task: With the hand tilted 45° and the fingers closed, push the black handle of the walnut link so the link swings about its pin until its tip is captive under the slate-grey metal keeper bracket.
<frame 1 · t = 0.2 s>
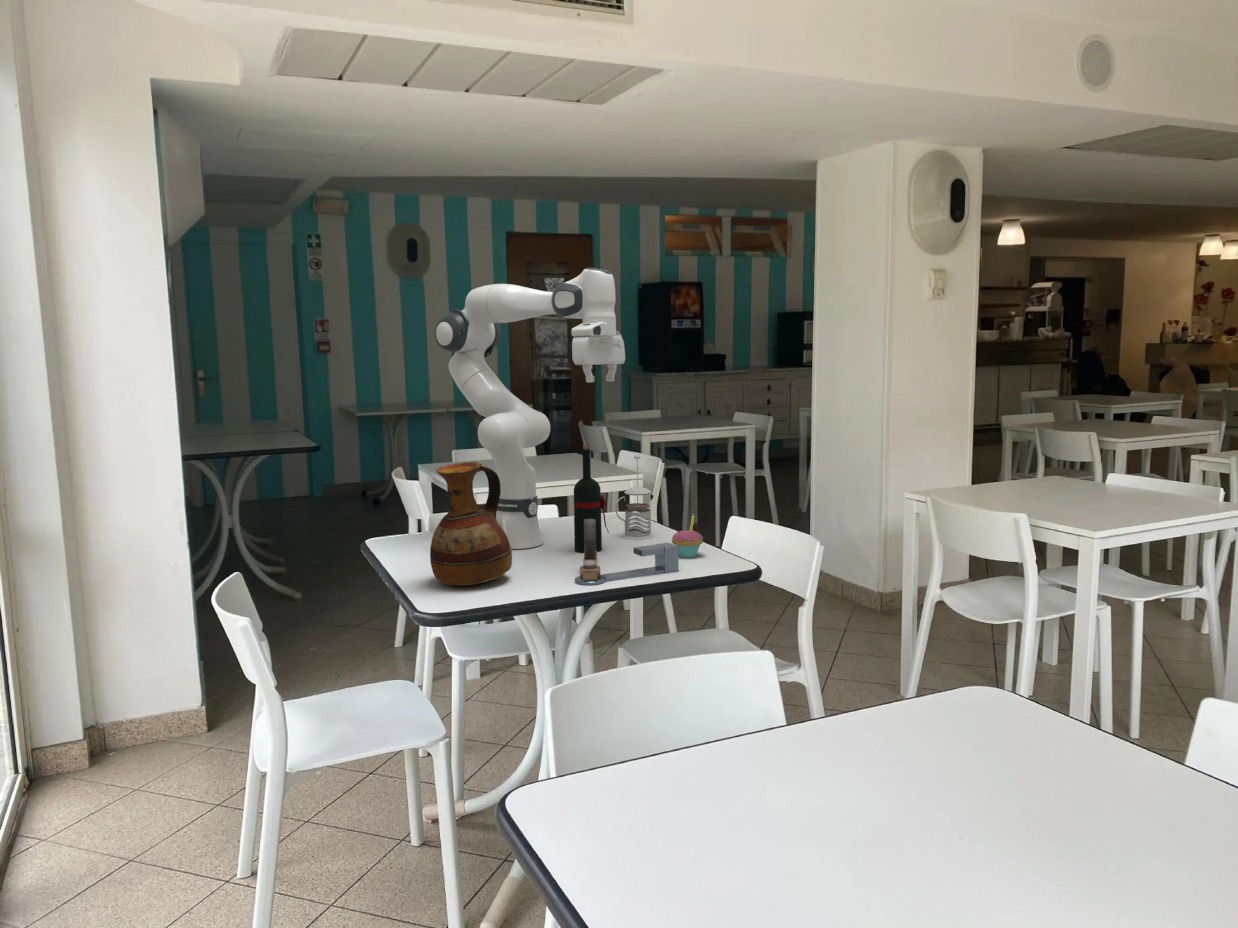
hand: (600, 382, 249), 48 cm above the table, tool pointing down, fingers open, 8 cm apart
keeper bracket: (590, 581, 229), on the table
cupcake: (687, 556, 255), on the table
french press: (635, 537, 281), on the table
wine bottle: (592, 550, 264), on the table
walnut link: (590, 545, 236), point 7 cm above the table, hinge at 0.0°
ceramic pitcher: (472, 581, 232), on the table
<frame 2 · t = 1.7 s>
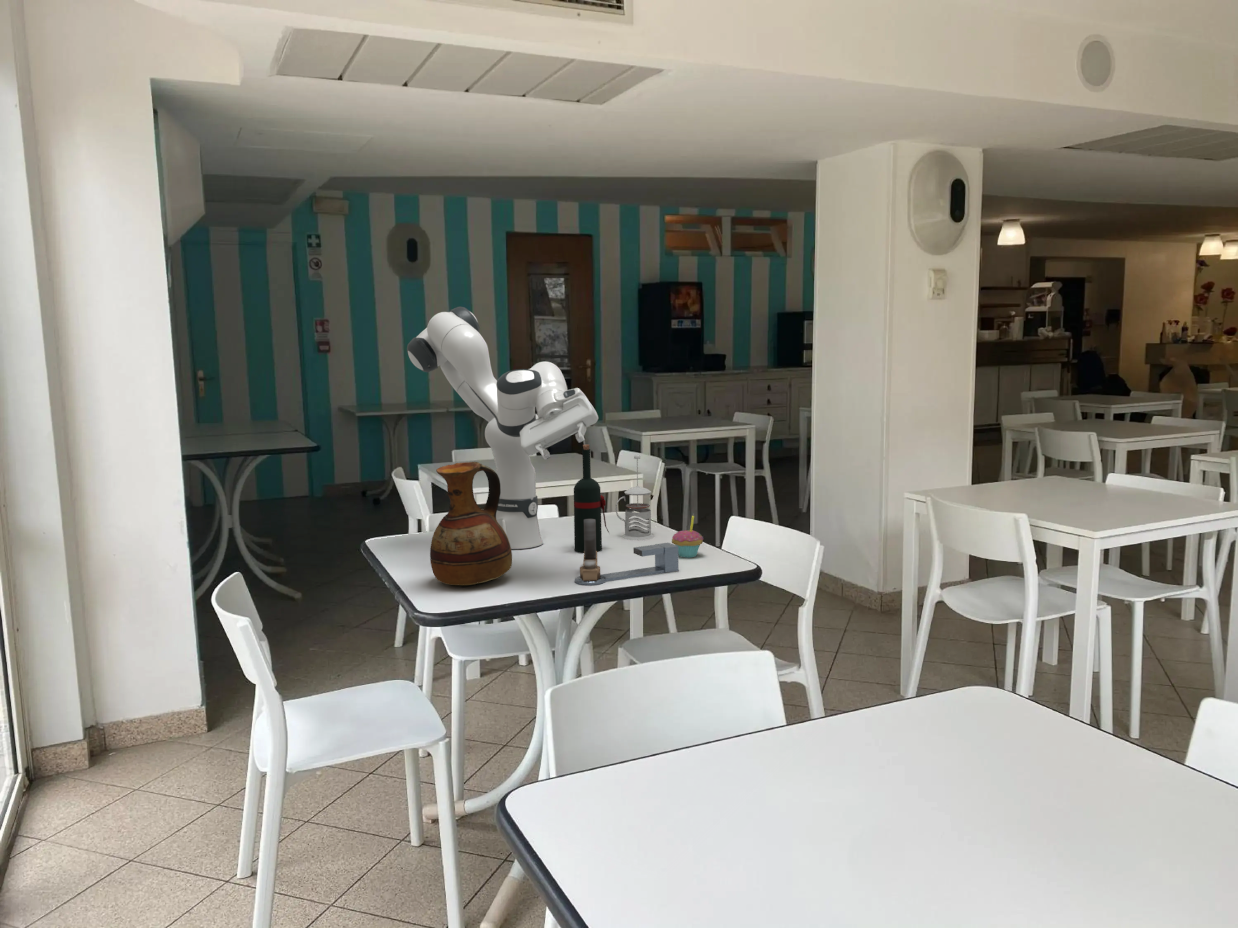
hand: (563, 448, 223), 33 cm above the table, tool tilted 55°, fingers open, 8 cm apart
nothing on the table moved.
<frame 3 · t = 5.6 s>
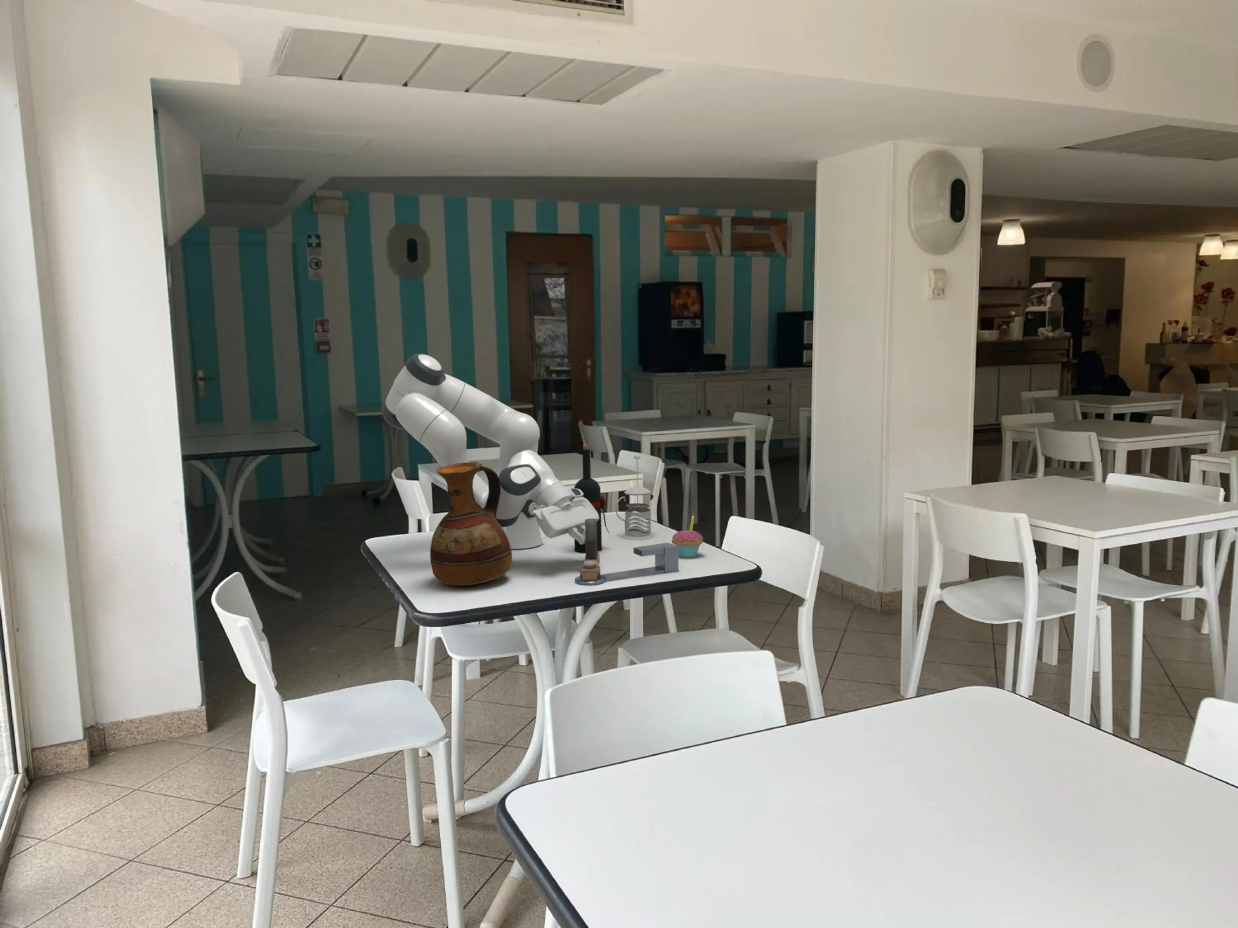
hand: (586, 542, 240), 7 cm above the table, tool tilted 45°, fingers closed, pressing on walnut link
walnut link: (590, 545, 236), point 7 cm above the table, hinge at -1.9°, touching gripper
everything else where it was.
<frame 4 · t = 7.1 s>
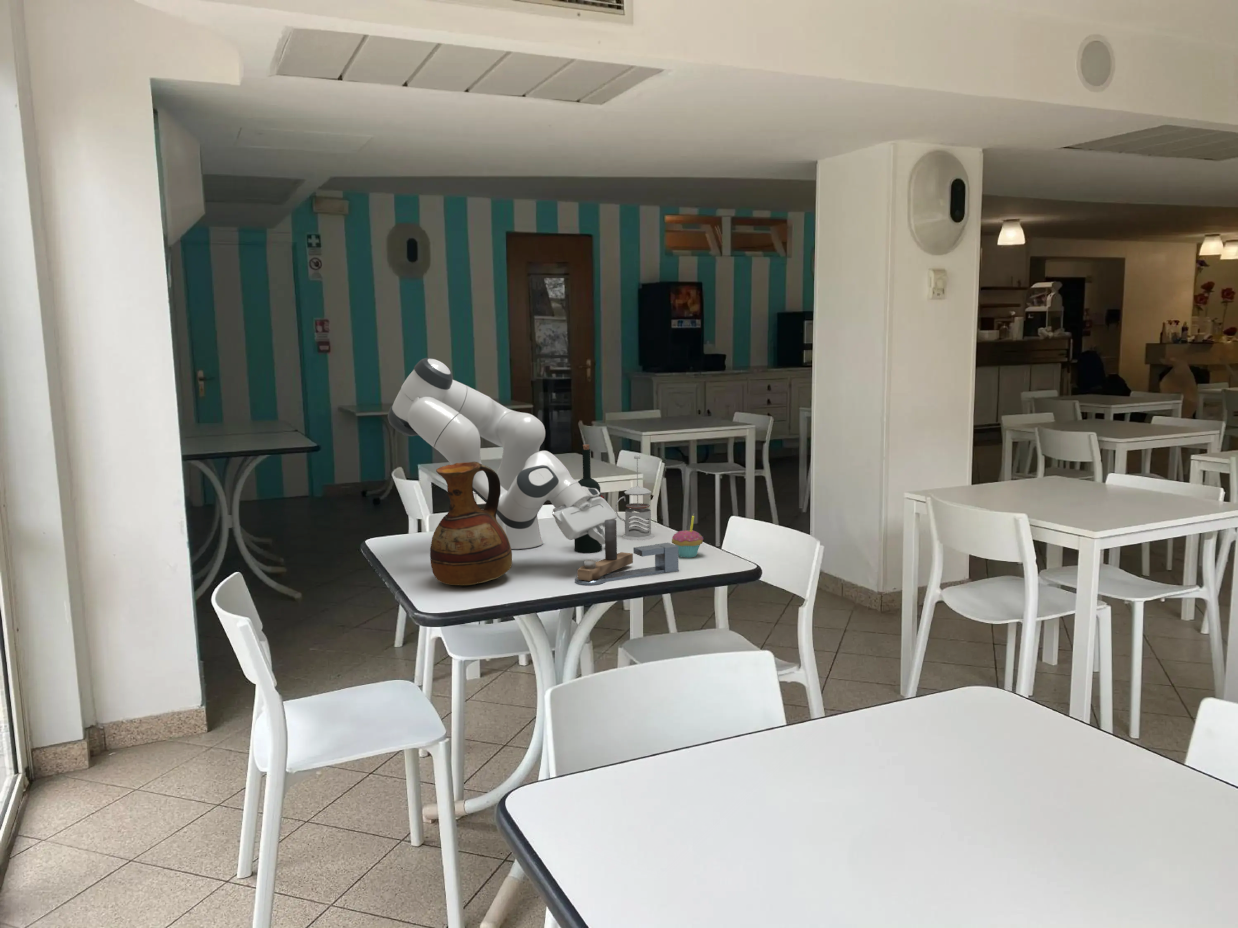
hand: (605, 542, 239), 7 cm above the table, tool tilted 45°, fingers closed, pressing on walnut link
walnut link: (605, 546, 235), point 7 cm above the table, hinge at -32.1°, touching gripper
everything else where it was.
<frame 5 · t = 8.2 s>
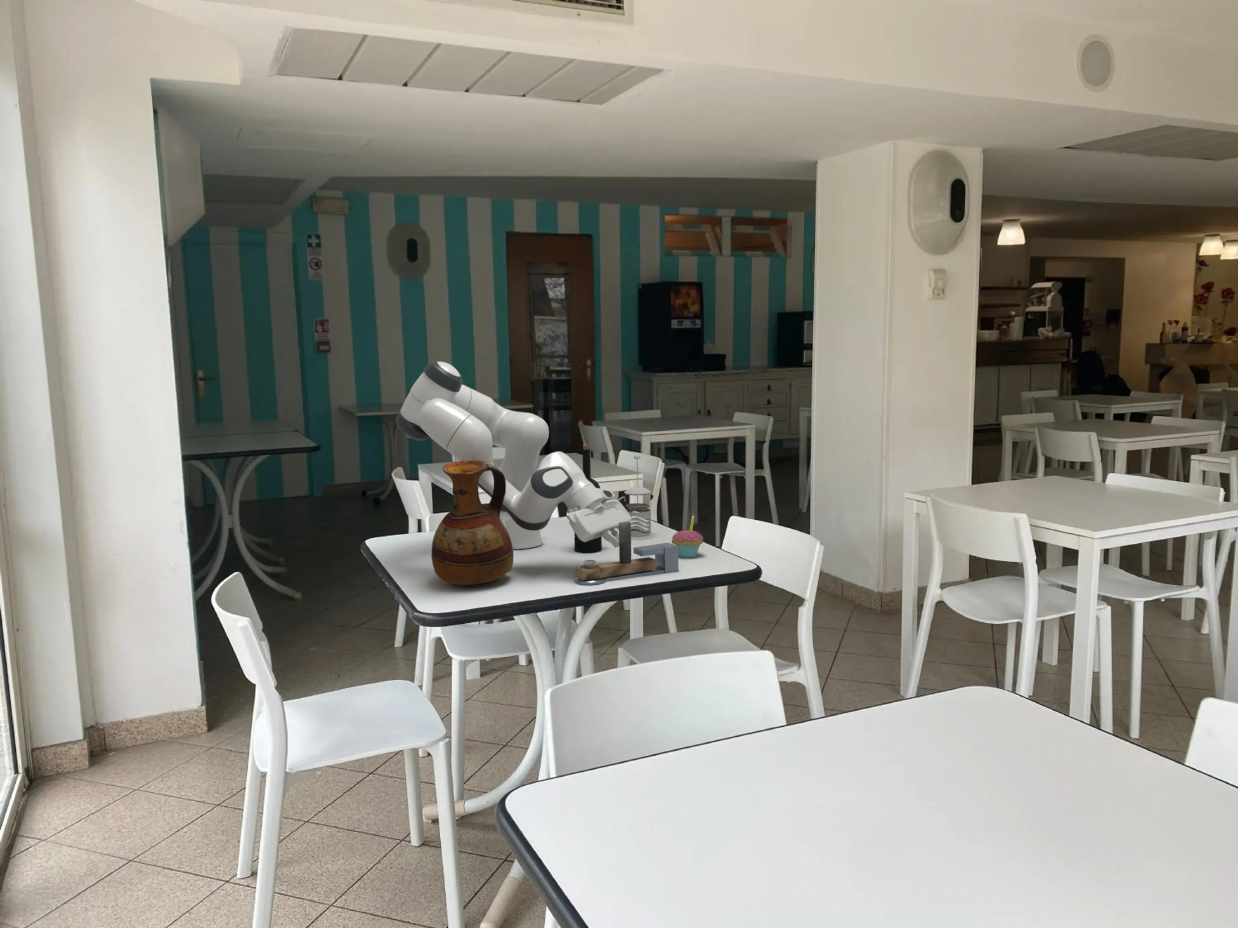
hand: (620, 545, 235), 7 cm above the table, tool tilted 45°, fingers closed
walnut link: (616, 548, 232), point 7 cm above the table, hinge at -62.1°, touching gripper
ceramic pitcher: (472, 578, 232), point 1 cm above the table, touching arm
everything else where it was.
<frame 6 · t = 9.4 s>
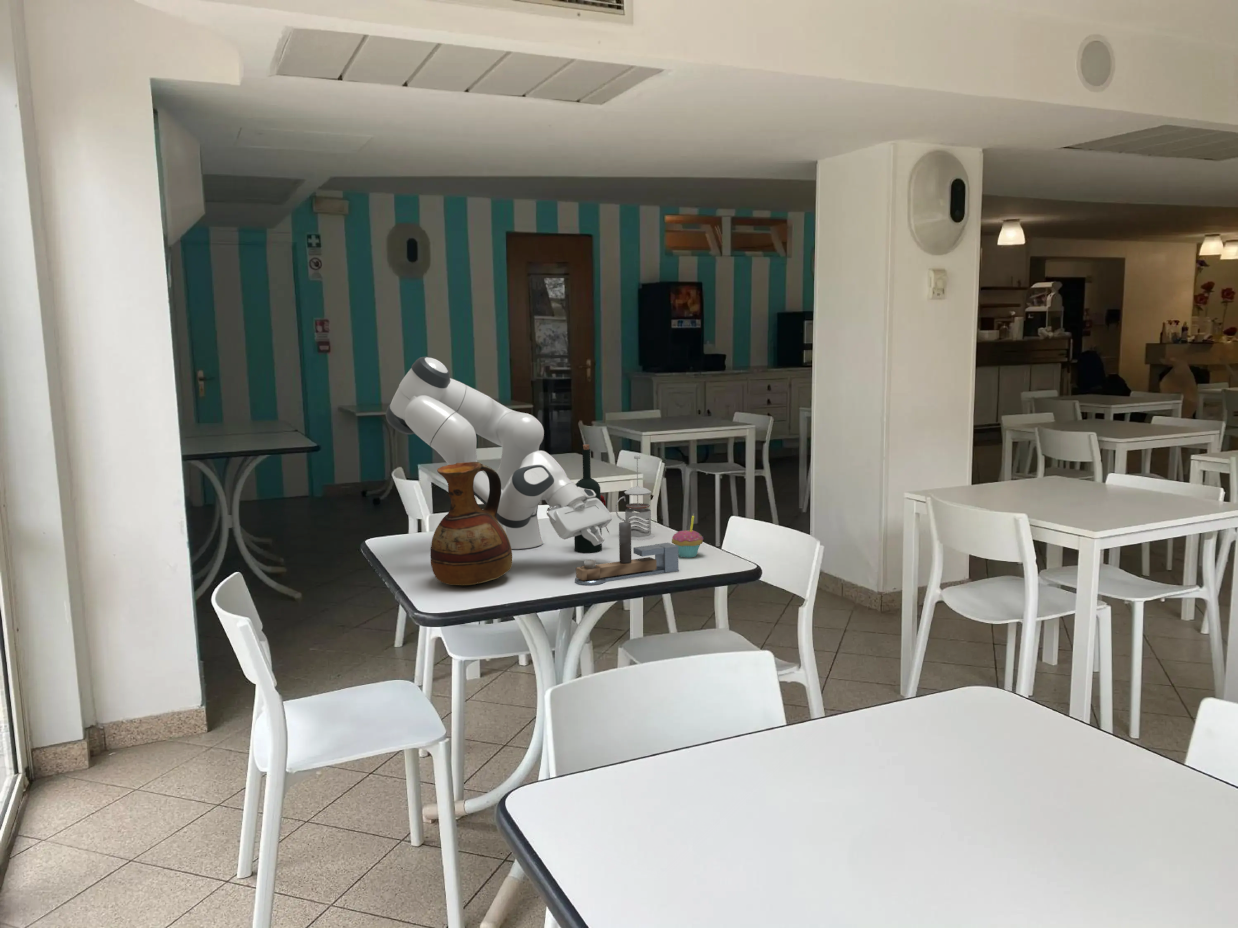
hand: (599, 543, 238), 7 cm above the table, tool tilted 45°, fingers closed
walnut link: (616, 548, 232), point 7 cm above the table, hinge at -62.5°
ceramic pitcher: (472, 581, 232), on the table
everything else where it was.
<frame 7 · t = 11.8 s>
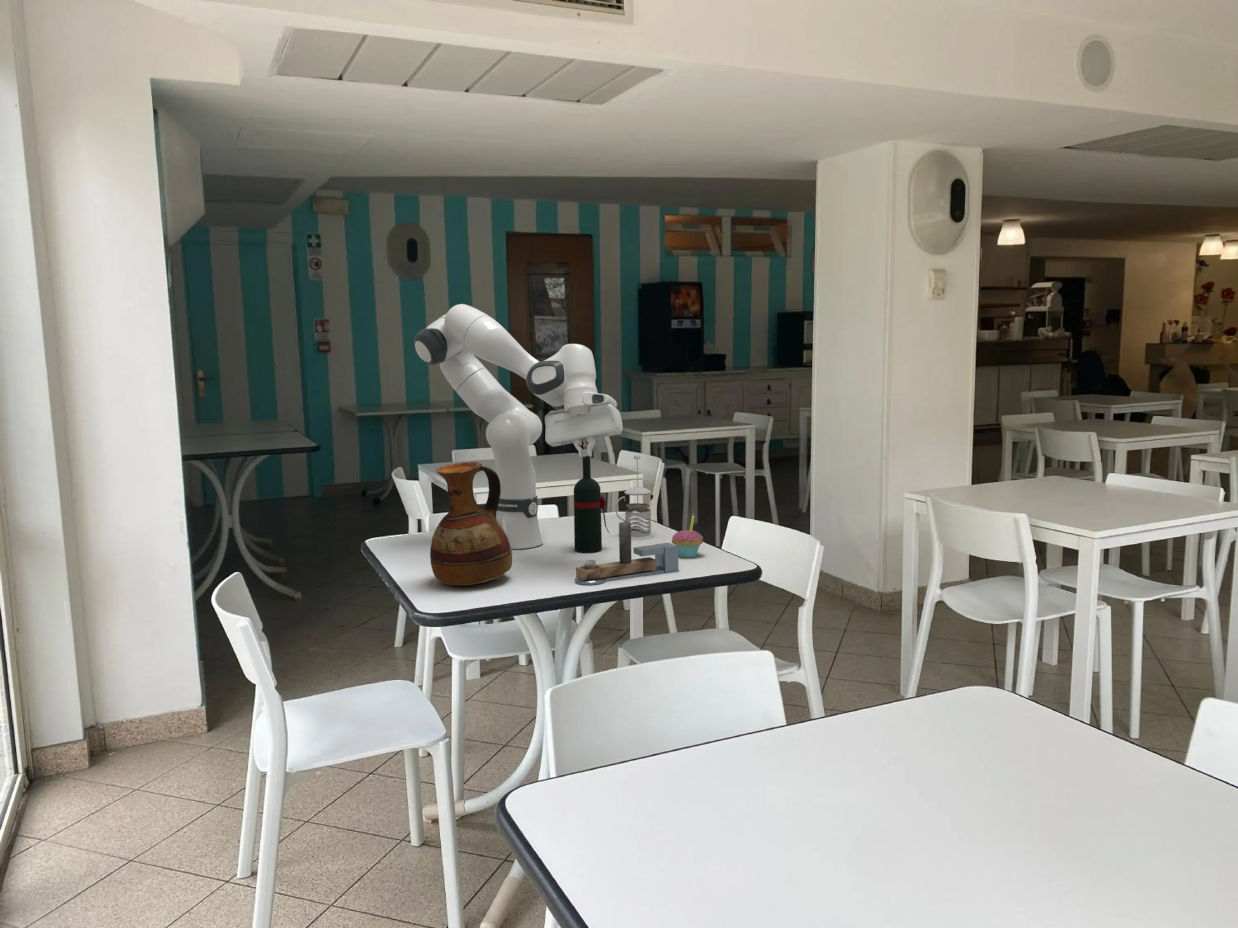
hand: (585, 456, 234), 30 cm above the table, tool tilted 20°, fingers closed
nothing on the table moved.
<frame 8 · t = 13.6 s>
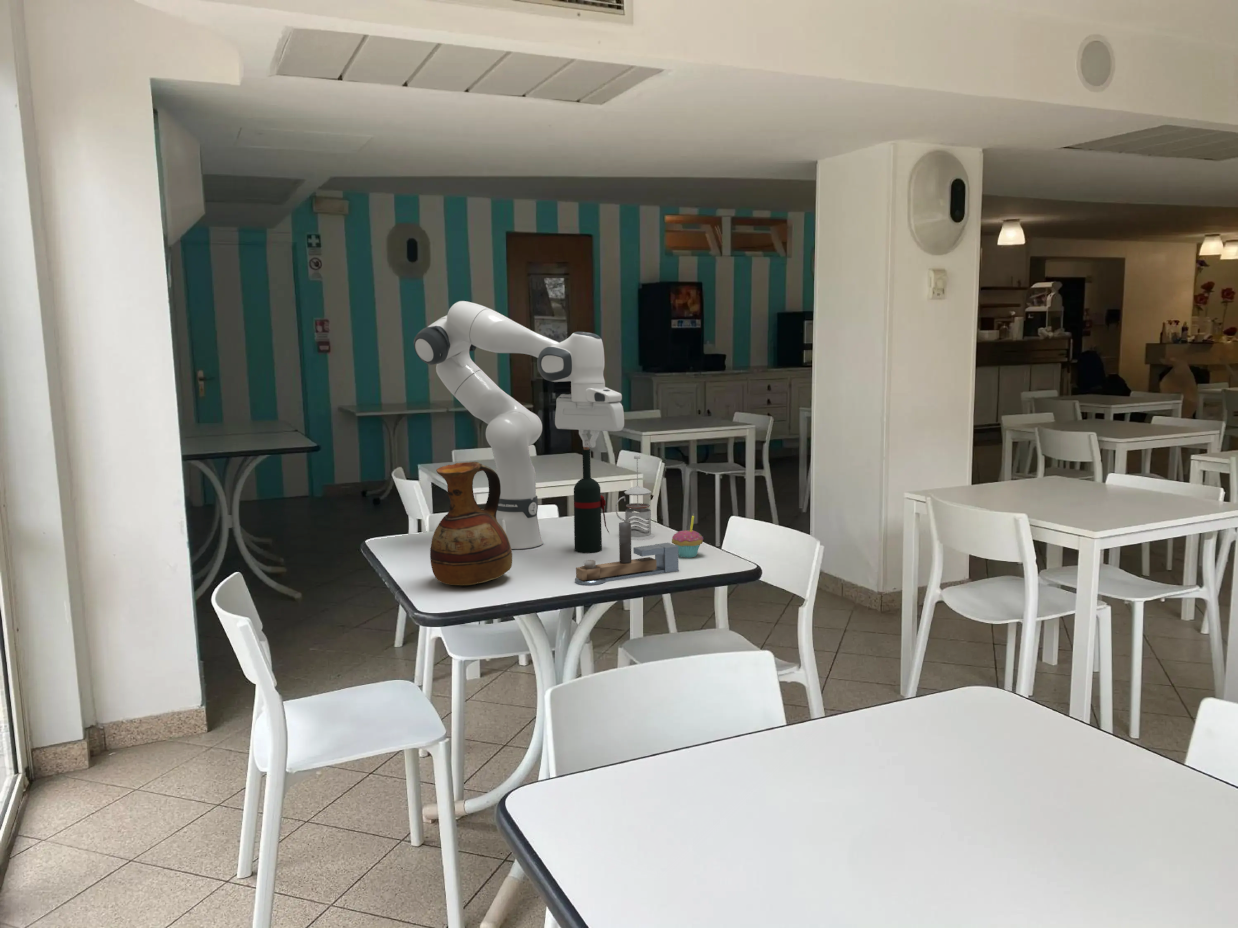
hand: (589, 447, 244), 31 cm above the table, tool pointing down, fingers closed
nothing on the table moved.
at the end: walnut link at -62° (first picture: +0°); the gripper is holding nothing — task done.
